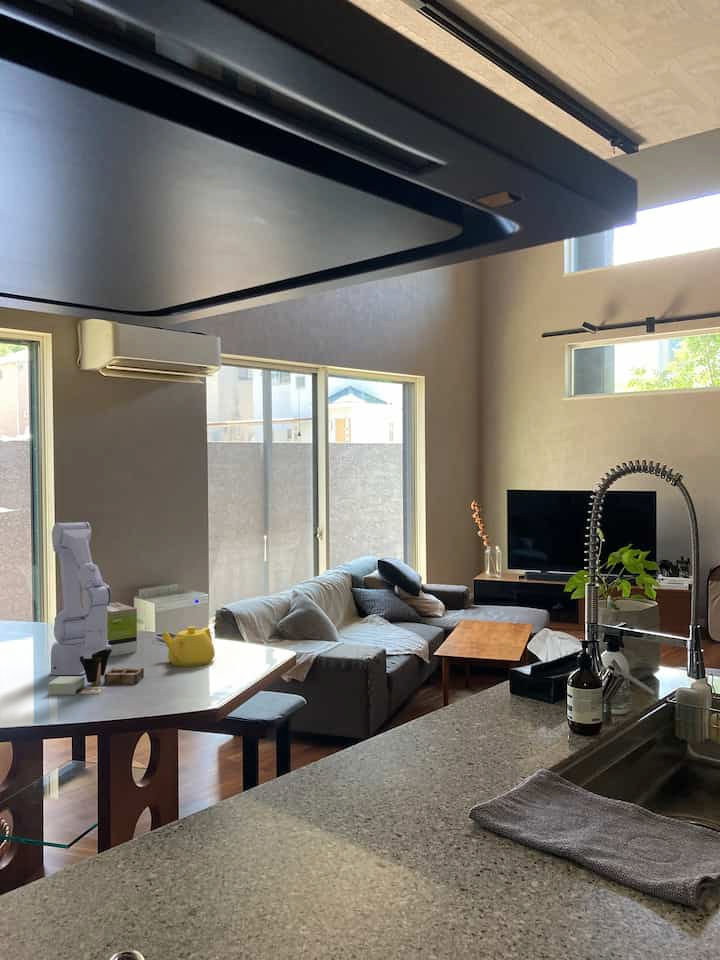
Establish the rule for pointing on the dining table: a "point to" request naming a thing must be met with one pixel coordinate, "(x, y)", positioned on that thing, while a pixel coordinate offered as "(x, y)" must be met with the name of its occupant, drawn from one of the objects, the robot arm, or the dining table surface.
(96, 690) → the tile
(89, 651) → the robot arm
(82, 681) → the cover
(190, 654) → the teapot
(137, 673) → the wooden compartment tray
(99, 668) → the pin
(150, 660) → the dining table surface
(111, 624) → the tea box
